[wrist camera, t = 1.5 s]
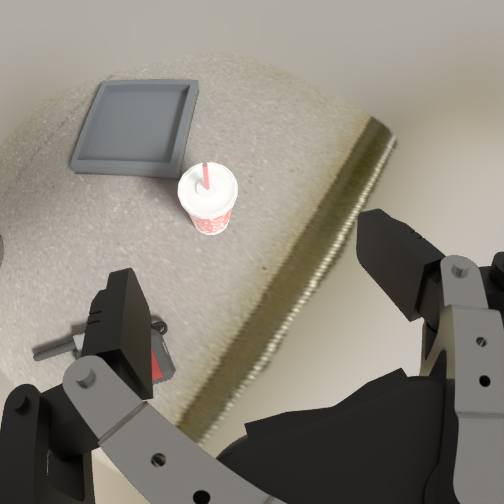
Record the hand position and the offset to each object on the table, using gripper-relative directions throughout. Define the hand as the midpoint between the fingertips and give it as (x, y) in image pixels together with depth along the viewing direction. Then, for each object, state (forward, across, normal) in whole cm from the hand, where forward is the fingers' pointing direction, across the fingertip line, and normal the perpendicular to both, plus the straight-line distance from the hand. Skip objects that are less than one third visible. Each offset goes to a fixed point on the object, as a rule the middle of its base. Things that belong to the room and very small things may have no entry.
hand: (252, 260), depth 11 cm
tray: (+40, +8, 0) cm, 40 cm away
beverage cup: (+28, 0, +12) cm, 30 cm away
